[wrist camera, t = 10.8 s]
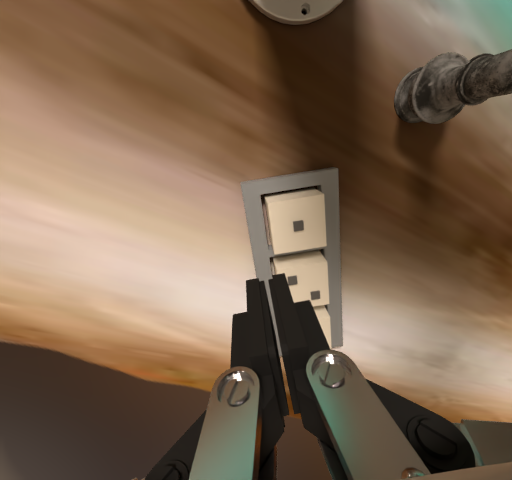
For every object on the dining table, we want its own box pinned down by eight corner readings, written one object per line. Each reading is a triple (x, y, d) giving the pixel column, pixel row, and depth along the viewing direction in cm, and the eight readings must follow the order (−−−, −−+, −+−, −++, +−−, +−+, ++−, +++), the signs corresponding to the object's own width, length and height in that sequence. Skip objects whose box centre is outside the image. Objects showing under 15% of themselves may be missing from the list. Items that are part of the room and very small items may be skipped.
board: (269, 350, 39) (270, 357, 37) (240, 182, 29) (240, 184, 28) (339, 338, 39) (342, 345, 37) (333, 167, 29) (338, 168, 28)
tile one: (264, 195, 30) (267, 203, 26) (313, 187, 30) (324, 194, 26) (270, 241, 32) (274, 255, 28) (316, 234, 32) (327, 246, 28)
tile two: (272, 255, 33) (276, 270, 29) (317, 248, 33) (327, 262, 29) (277, 293, 35) (282, 312, 31) (319, 286, 35) (329, 304, 31)
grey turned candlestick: (455, 90, 27) (608, 54, 16) (414, 137, 29) (526, 134, 17) (422, 49, 25) (565, -23, 14) (380, 101, 27) (479, 72, 16)
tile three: (279, 305, 36) (284, 325, 32) (320, 298, 36) (330, 317, 32) (283, 337, 38) (288, 360, 34) (322, 331, 38) (332, 353, 34)
